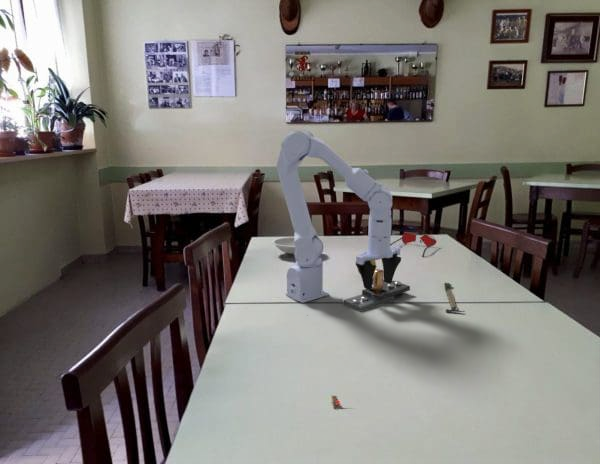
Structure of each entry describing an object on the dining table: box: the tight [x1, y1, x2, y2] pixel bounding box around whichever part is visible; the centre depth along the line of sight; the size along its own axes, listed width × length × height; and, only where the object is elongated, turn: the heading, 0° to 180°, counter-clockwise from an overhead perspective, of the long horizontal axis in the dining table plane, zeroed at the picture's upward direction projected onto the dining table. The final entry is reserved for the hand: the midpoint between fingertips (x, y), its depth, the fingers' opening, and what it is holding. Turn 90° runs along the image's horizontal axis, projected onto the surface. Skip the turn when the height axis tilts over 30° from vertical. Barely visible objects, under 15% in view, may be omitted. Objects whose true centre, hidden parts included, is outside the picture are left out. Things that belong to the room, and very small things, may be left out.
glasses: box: [390, 232, 437, 258], centre depth 168 cm, size 14×16×5 cm
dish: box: [271, 236, 295, 255], centre depth 162 cm, size 18×14×5 cm
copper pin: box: [372, 268, 384, 294], centre depth 119 cm, size 2×2×8 cm
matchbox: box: [330, 394, 359, 410], centre depth 76 cm, size 5×5×1 cm
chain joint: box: [343, 280, 411, 312], centre depth 120 cm, size 19×6×3 cm, turn 127°
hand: (377, 285), depth 119 cm, fingers open, 7 cm apart
